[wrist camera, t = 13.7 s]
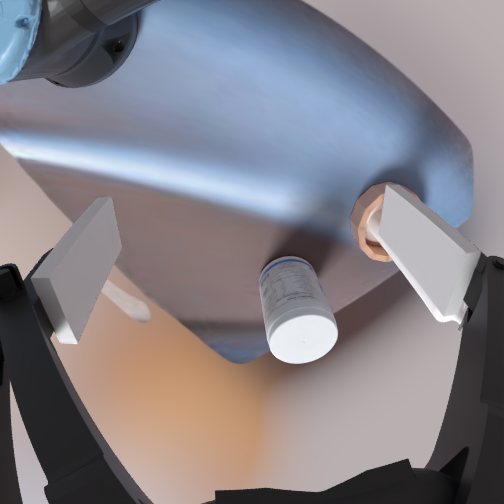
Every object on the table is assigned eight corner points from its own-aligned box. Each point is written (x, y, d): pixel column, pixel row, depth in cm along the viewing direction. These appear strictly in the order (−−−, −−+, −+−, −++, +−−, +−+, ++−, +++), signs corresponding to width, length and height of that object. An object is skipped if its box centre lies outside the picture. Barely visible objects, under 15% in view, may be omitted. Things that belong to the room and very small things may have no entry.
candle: (401, 199, 47) (500, 295, 25) (393, 239, 50) (476, 344, 29) (361, 199, 46) (454, 303, 25) (355, 240, 50) (429, 356, 28)
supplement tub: (318, 291, 55) (342, 353, 43) (266, 307, 56) (278, 372, 43) (308, 245, 51) (335, 305, 38) (250, 262, 51) (260, 327, 39)
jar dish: (345, 192, 46) (353, 201, 43) (412, 175, 45) (424, 182, 42) (354, 258, 52) (362, 270, 49) (415, 239, 52) (425, 249, 48)
